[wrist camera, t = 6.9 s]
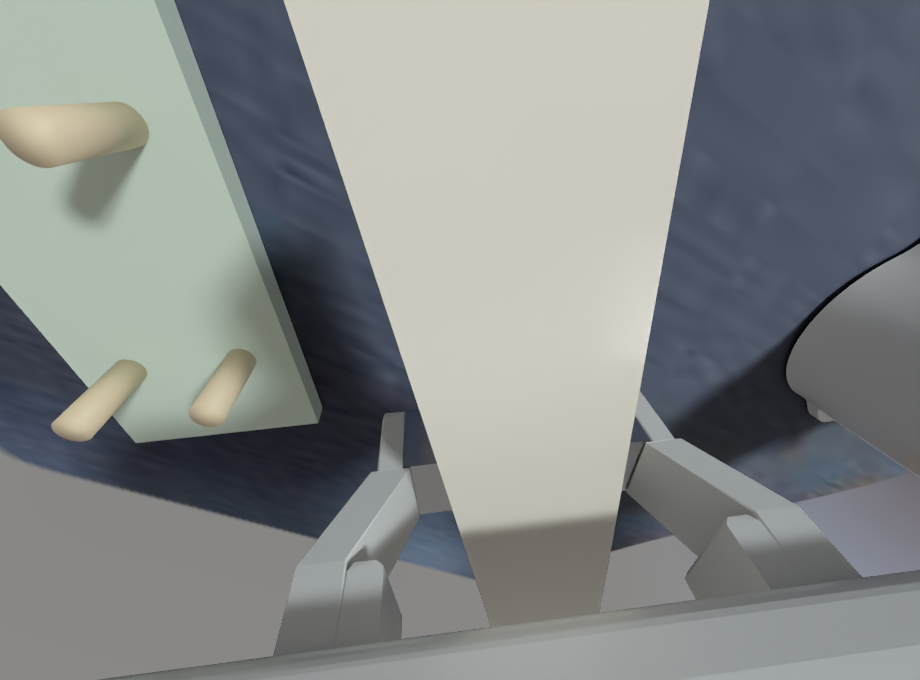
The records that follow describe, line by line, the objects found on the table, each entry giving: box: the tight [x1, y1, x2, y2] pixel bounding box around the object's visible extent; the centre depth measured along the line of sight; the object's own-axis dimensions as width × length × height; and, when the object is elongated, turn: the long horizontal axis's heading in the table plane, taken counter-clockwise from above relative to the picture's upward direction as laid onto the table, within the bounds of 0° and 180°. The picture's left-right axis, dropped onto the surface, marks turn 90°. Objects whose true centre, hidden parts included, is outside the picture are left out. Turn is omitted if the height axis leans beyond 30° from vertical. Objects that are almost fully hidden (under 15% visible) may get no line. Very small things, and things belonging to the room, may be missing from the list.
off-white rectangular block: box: [284, 0, 709, 627], centre depth 9 cm, size 16×3×5 cm, turn 9°
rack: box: [0, 0, 323, 443], centre depth 17 cm, size 24×12×6 cm, turn 2°
